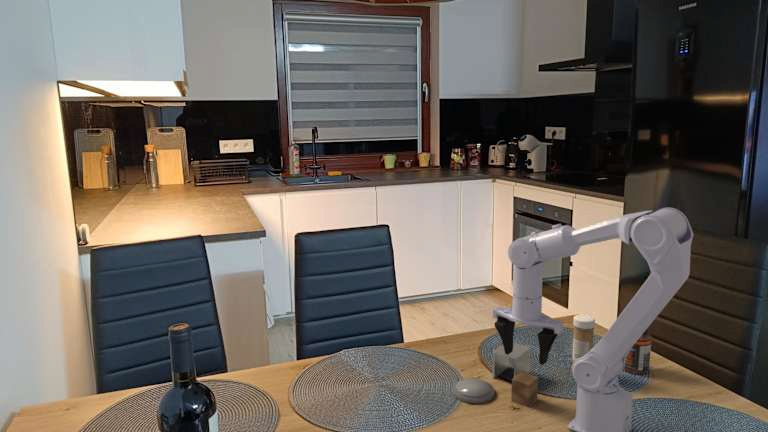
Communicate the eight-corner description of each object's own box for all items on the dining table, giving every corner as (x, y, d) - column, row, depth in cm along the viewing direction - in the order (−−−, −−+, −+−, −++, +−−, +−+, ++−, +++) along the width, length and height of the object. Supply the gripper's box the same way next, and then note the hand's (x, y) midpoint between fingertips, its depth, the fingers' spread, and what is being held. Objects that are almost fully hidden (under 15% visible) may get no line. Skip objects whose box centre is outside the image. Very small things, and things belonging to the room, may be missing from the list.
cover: (529, 373, 124) (530, 347, 122) (515, 385, 118) (516, 358, 117) (506, 366, 127) (507, 341, 126) (492, 378, 122) (492, 351, 121)
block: (537, 398, 113) (537, 376, 112) (528, 407, 110) (529, 384, 109) (520, 393, 115) (520, 371, 114) (511, 401, 112) (511, 379, 111)
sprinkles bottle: (596, 373, 123) (599, 318, 120) (583, 379, 120) (586, 322, 118) (579, 366, 127) (582, 312, 124) (566, 371, 124) (569, 316, 122)
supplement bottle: (614, 366, 126) (617, 321, 124) (633, 361, 128) (636, 316, 126) (636, 377, 121) (639, 330, 119) (654, 372, 123) (658, 325, 121)
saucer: (501, 390, 116) (501, 385, 116) (480, 408, 110) (480, 402, 109) (465, 378, 122) (465, 373, 122) (443, 394, 115) (443, 389, 115)
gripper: (570, 296, 107) (567, 360, 109) (504, 283, 116) (503, 342, 119) (555, 306, 102) (553, 373, 104) (487, 291, 111) (487, 353, 113)
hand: (525, 357), depth 111 cm, fingers open, 7 cm apart
